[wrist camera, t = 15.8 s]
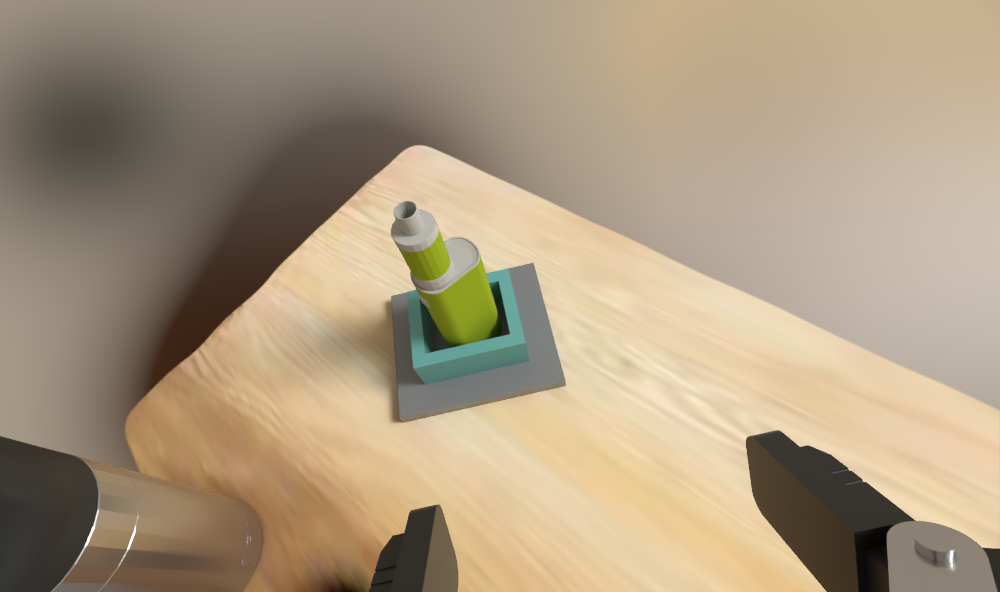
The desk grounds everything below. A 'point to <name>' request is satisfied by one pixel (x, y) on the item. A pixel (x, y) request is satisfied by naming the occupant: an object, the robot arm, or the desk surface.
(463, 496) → the desk surface
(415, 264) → the vape
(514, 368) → the dock
